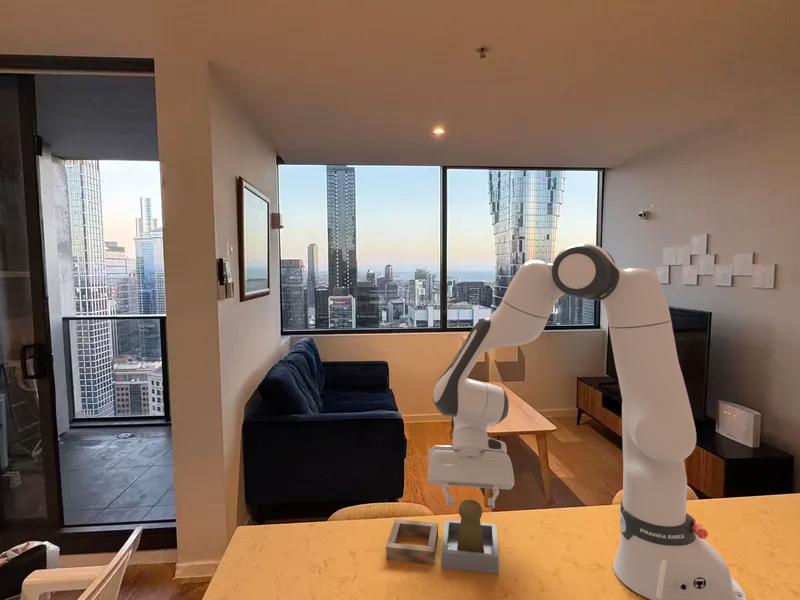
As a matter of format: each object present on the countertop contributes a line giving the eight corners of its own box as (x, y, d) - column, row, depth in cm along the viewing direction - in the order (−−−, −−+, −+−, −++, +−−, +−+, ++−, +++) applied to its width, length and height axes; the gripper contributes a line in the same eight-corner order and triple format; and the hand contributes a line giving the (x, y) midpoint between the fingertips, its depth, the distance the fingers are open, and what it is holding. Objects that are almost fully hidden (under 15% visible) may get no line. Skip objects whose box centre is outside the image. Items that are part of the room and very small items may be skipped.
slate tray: (495, 538, 99) (495, 523, 99) (498, 574, 88) (498, 557, 87) (445, 533, 102) (445, 519, 101) (441, 568, 90) (441, 552, 90)
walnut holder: (438, 534, 101) (438, 522, 101) (434, 564, 91) (433, 551, 91) (395, 530, 103) (395, 519, 103) (386, 559, 93) (386, 546, 92)
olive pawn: (484, 560, 91) (483, 512, 90) (456, 557, 92) (455, 509, 92) (484, 543, 97) (484, 497, 96) (458, 540, 98) (457, 494, 97)
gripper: (427, 439, 104) (423, 498, 95) (512, 443, 100) (516, 505, 91) (429, 449, 109) (426, 506, 100) (510, 453, 105) (514, 513, 96)
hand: (470, 506), depth 95 cm, fingers open, 8 cm apart
